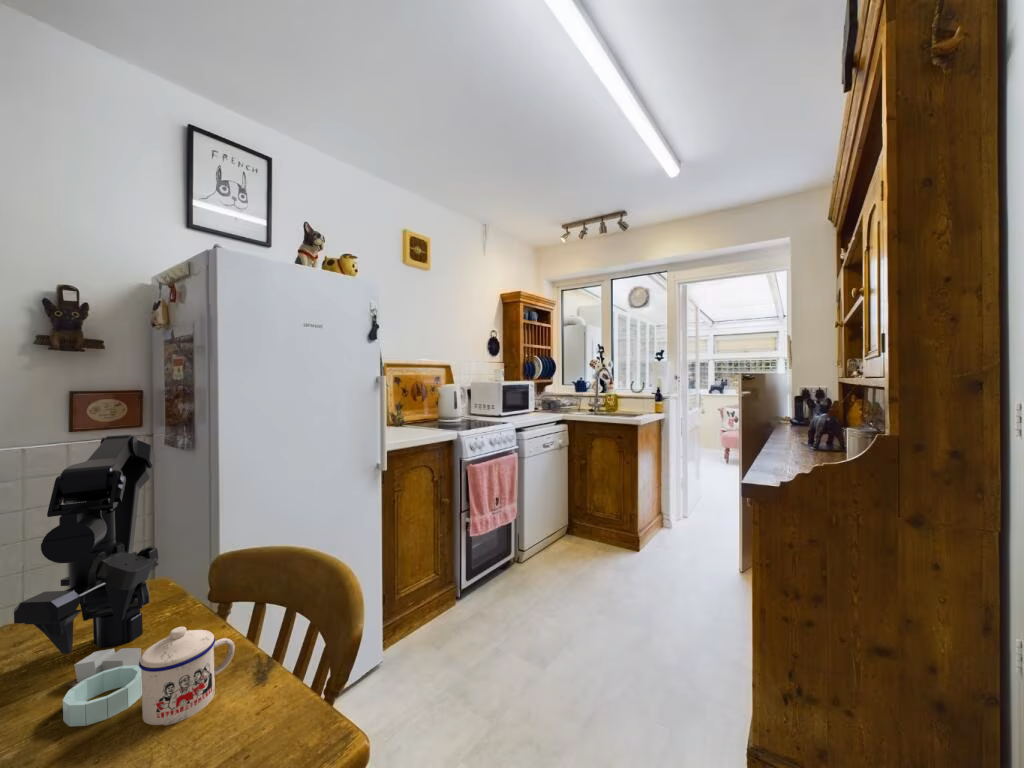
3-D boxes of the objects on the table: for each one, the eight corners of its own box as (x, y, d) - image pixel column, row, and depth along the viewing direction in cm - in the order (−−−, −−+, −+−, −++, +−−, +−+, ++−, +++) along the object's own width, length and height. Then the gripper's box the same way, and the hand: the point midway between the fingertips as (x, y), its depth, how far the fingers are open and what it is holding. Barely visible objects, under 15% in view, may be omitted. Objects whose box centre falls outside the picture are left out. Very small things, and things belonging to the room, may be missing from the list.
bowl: (46, 731, 61) (45, 706, 61) (103, 689, 69) (102, 666, 69) (108, 729, 61) (108, 703, 61) (157, 686, 70) (156, 664, 70)
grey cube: (102, 681, 71) (102, 661, 71) (122, 668, 74) (121, 648, 74) (123, 681, 70) (122, 660, 70) (141, 667, 74) (141, 648, 74)
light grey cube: (78, 685, 70) (74, 664, 70) (98, 671, 73) (95, 651, 73) (97, 681, 70) (94, 661, 70) (117, 668, 73) (114, 648, 73)
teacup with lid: (152, 741, 59) (149, 655, 59) (132, 713, 64) (129, 634, 64) (247, 689, 68) (245, 615, 68) (223, 668, 74) (221, 600, 74)
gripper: (87, 563, 62) (90, 671, 62) (183, 522, 81) (185, 605, 81) (8, 566, 62) (11, 674, 62) (122, 524, 81) (125, 607, 81)
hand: (94, 635), depth 71 cm, fingers open, 9 cm apart
